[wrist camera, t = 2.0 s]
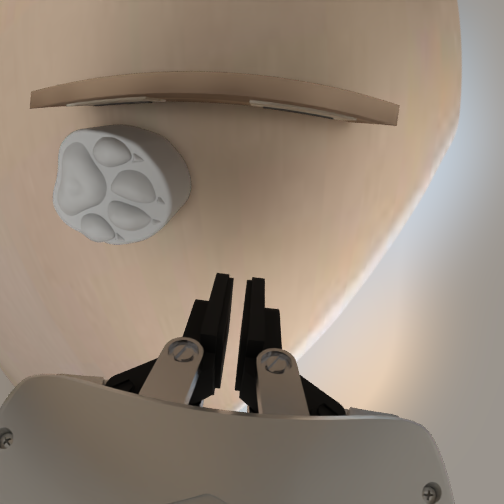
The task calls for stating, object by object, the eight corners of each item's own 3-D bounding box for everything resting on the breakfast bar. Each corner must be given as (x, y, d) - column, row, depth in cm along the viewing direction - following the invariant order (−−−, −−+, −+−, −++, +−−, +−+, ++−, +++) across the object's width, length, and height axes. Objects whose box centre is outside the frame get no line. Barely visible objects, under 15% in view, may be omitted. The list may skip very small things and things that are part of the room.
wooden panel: (95, 92, 25) (31, 91, 15) (352, 108, 25) (399, 105, 15) (94, 108, 26) (29, 112, 16) (350, 125, 26) (395, 130, 16)
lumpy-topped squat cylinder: (101, 117, 26) (54, 122, 18) (205, 148, 28) (183, 159, 20) (84, 200, 31) (41, 225, 23) (177, 235, 32) (151, 272, 25)
